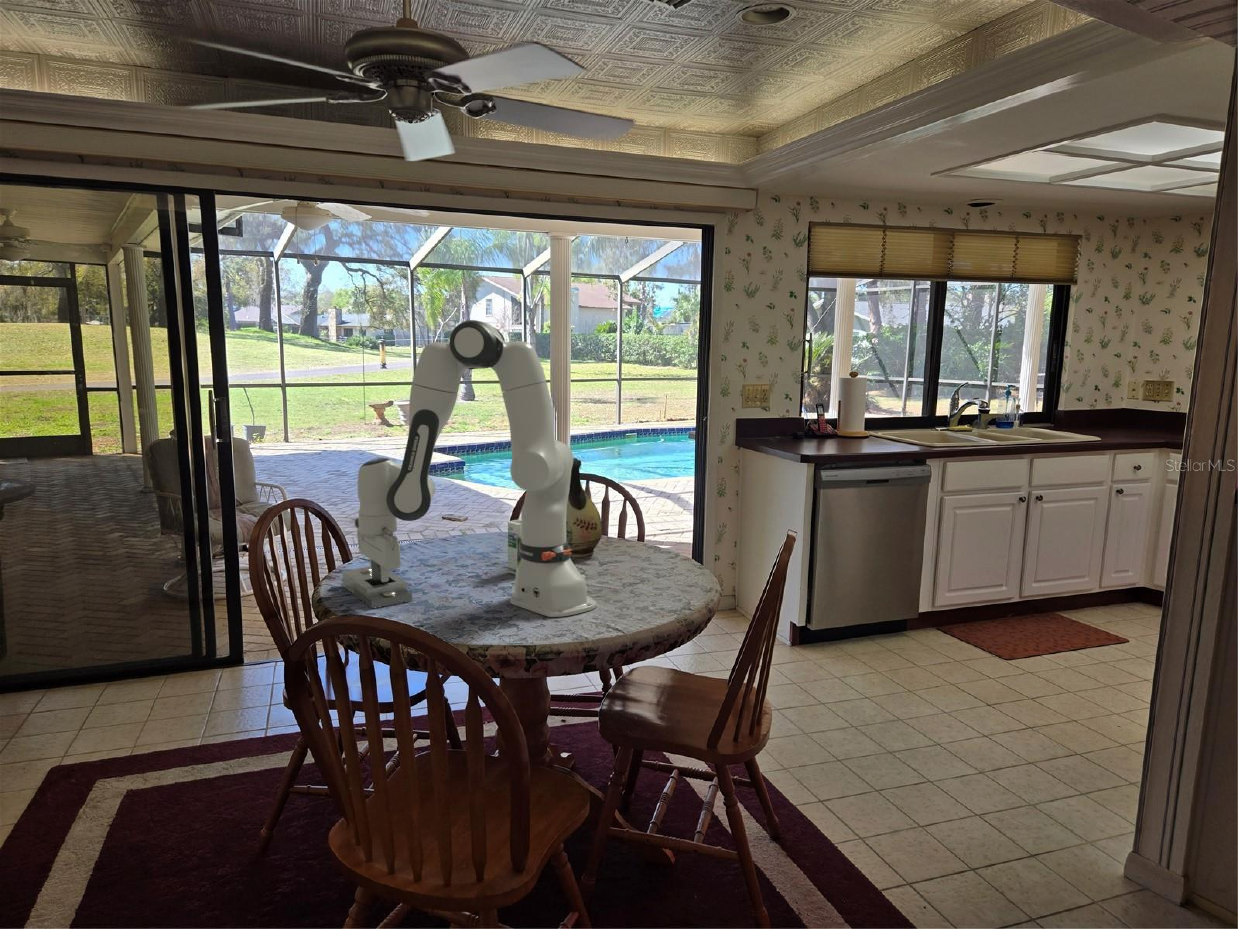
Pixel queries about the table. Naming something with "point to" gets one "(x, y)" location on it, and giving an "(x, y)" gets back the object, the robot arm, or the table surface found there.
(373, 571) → the pin
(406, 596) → the inner link end
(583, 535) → the ceramic jug
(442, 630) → the table surface
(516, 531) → the syrup box
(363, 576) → the outer link end
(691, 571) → the table surface
